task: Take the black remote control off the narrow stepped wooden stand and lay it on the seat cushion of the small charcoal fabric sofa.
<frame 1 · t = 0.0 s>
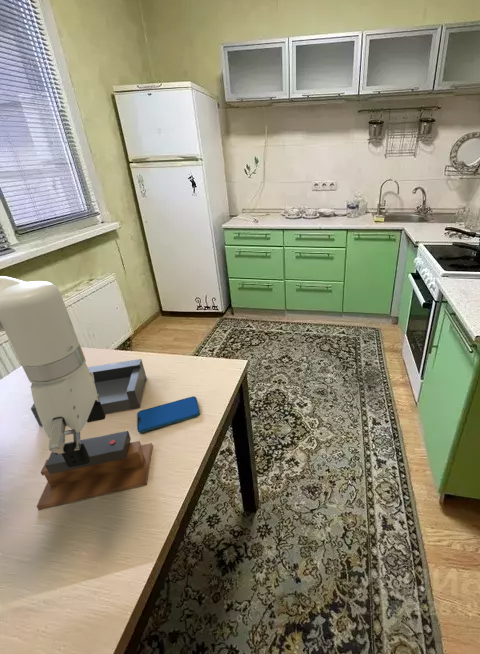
hand: (88, 440, 57), 17 cm above the table, tool pointing down, fingers open, 9 cm apart
smartphone: (169, 415, 84), on the table
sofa: (98, 398, 91), on the table
remote: (92, 455, 67), point 6 cm above the table, touching stepped wooden stand
stepped wooden stand: (100, 474, 69), on the table
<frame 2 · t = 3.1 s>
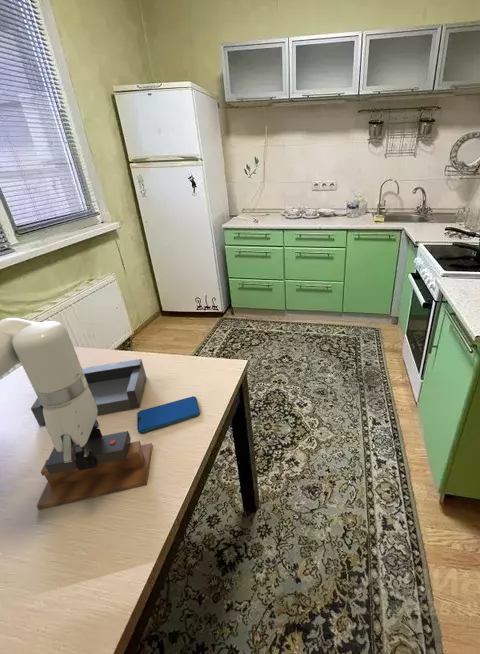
hand: (92, 455, 67), 6 cm above the table, tool pointing down, fingers closed on remote, 5 cm apart
remote: (92, 455, 67), point 6 cm above the table, touching gripper, stepped wooden stand
everything else where it was.
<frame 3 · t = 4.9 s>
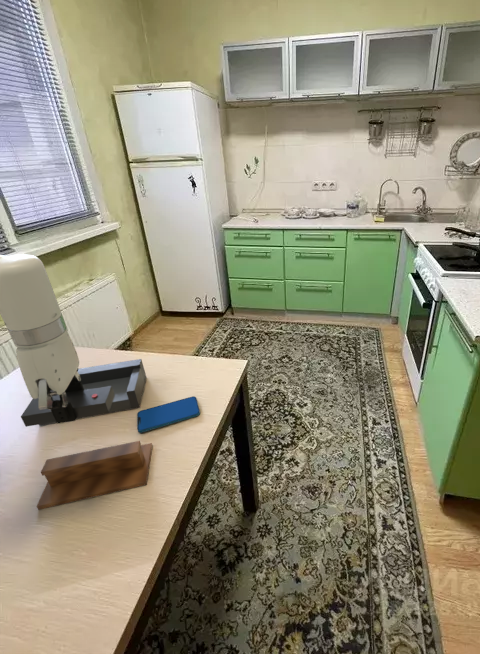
hand: (72, 409, 62), 18 cm above the table, tool pointing down, fingers closed on remote, 5 cm apart
remote: (72, 410, 63), point 18 cm above the table, touching gripper
everything else where it was.
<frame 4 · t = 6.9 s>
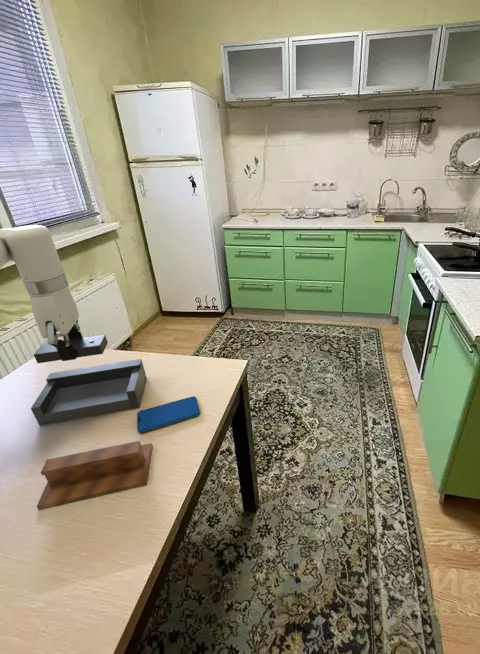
hand: (73, 352, 79), 19 cm above the table, tool pointing down, fingers closed on remote, 5 cm apart
remote: (74, 352, 79), point 18 cm above the table, touching gripper
everything else where it was.
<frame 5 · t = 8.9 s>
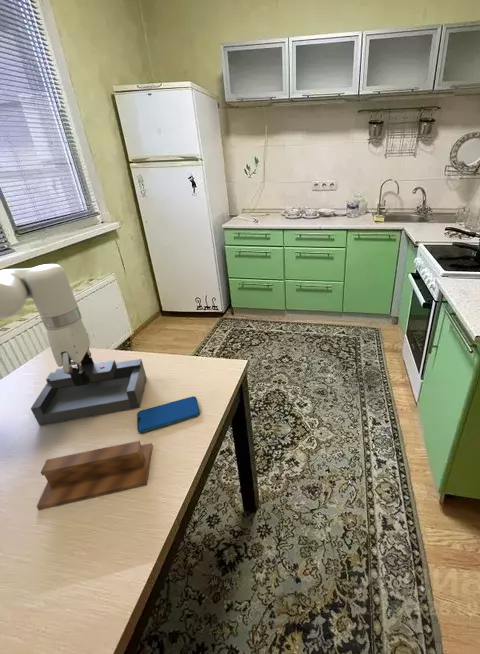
hand: (85, 377, 84), 10 cm above the table, tool pointing down, fingers closed on remote, 5 cm apart
remote: (86, 377, 84), point 9 cm above the table, touching gripper
everything else where it was.
when the fingers open (4 cm above the table, at t = 10.6 s): remote stays where it is, resting on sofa.
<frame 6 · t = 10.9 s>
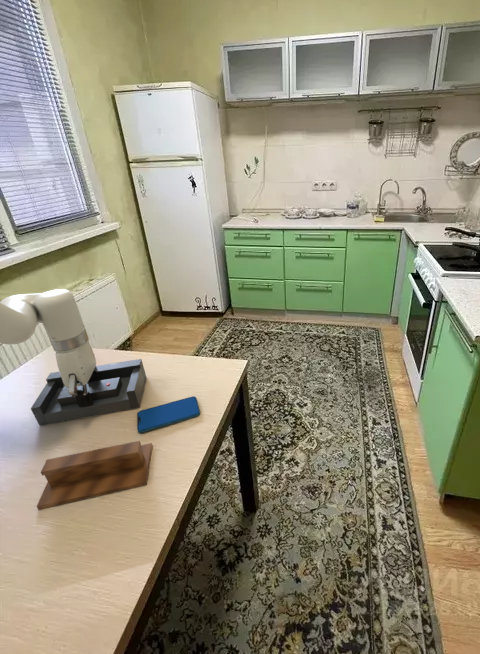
hand: (91, 394, 87), 4 cm above the table, tool pointing down, fingers open, 7 cm apart
remote: (92, 394, 87), point 3 cm above the table, touching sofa
everything else where it was.
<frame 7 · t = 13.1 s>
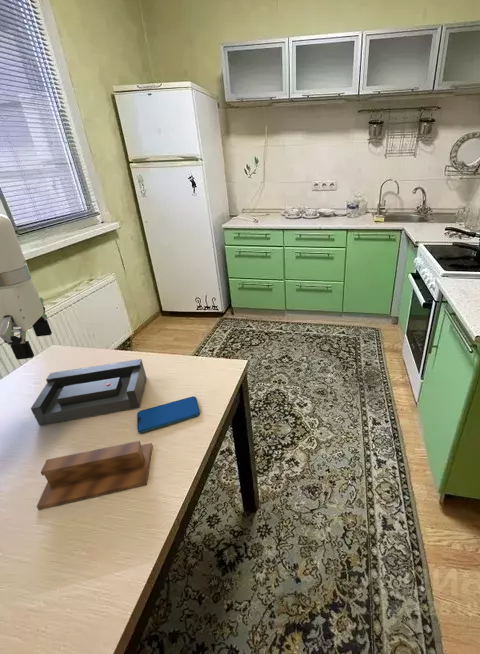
hand: (35, 346, 74), 23 cm above the table, tool pointing down, fingers open, 9 cm apart
nothing on the table moved.
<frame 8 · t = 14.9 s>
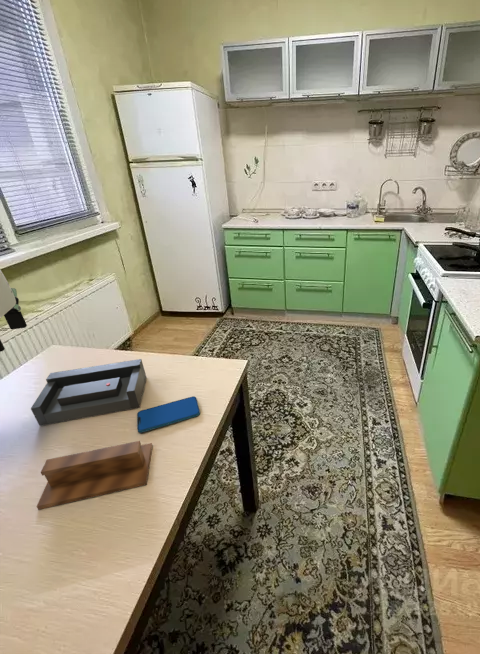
hand: (8, 339, 70), 26 cm above the table, tool pointing down, fingers open, 9 cm apart
nothing on the table moved.
at the end: remote inside the target area on the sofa (0.1 cm from its centre), point 3.5 cm above the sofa's base; remote tilted 0°; the gripper is holding nothing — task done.
